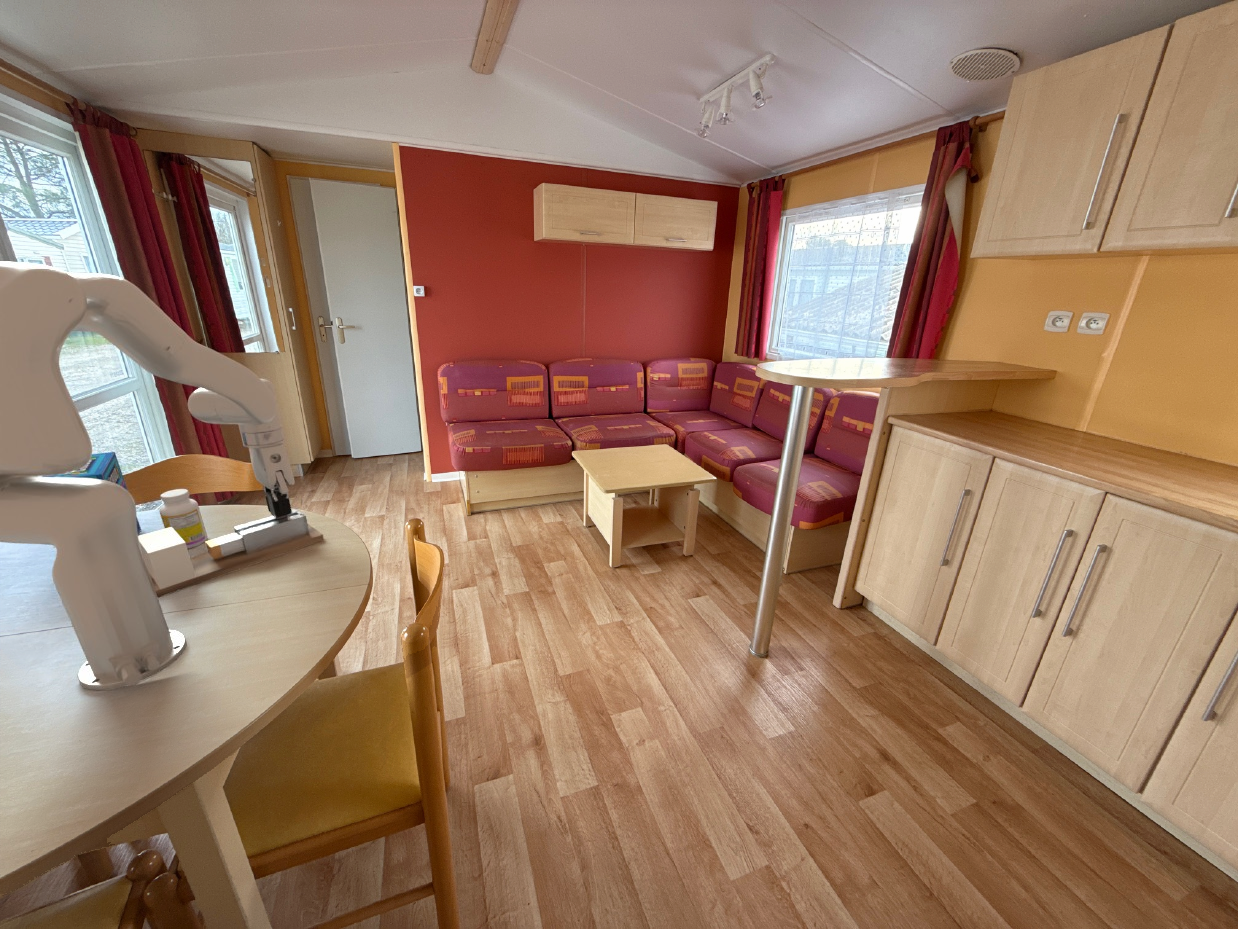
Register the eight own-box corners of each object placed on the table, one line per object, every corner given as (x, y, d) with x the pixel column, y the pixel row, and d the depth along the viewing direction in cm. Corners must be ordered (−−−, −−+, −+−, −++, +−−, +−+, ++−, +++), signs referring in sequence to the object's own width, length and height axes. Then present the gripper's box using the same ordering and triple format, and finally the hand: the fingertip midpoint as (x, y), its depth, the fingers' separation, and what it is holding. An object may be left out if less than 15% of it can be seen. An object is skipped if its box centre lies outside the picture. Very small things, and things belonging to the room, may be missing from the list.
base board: (323, 540, 117) (322, 534, 117) (155, 598, 94) (153, 591, 94) (306, 527, 123) (305, 521, 122) (143, 579, 100) (141, 572, 100)
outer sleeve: (309, 534, 116) (305, 515, 115) (247, 555, 107) (242, 534, 105) (299, 527, 120) (295, 508, 118) (238, 546, 110) (233, 526, 109)
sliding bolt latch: (302, 531, 116) (293, 490, 112) (214, 559, 103) (201, 514, 100) (296, 526, 118) (287, 486, 114) (208, 553, 105) (195, 509, 102)
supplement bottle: (176, 539, 115) (161, 489, 111) (211, 534, 118) (197, 485, 114) (166, 553, 110) (149, 500, 105) (203, 547, 112) (188, 496, 108)
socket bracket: (196, 577, 99) (185, 542, 96) (160, 589, 95) (148, 553, 92) (182, 560, 104) (171, 526, 102) (147, 570, 100) (135, 536, 98)
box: (88, 539, 114) (57, 458, 107) (141, 529, 119) (114, 451, 112) (72, 571, 102) (36, 483, 95) (132, 559, 107) (101, 474, 100)
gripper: (297, 440, 105) (313, 517, 111) (268, 425, 114) (284, 498, 120) (257, 448, 99) (275, 529, 105) (229, 432, 108) (248, 507, 115)
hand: (280, 511), depth 113 cm, fingers closed on sliding bolt latch, 3 cm apart
